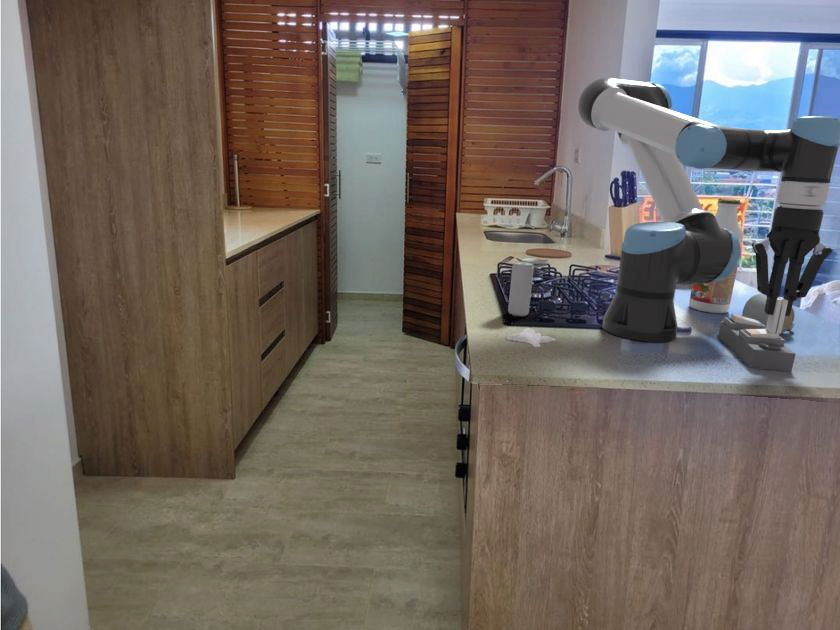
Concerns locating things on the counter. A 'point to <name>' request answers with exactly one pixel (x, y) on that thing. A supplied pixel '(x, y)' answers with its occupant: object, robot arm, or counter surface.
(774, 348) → the power strip
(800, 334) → the counter surface
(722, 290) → the fruit juice
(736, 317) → the rocker outlet
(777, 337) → the rocker outlet
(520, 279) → the beverage can
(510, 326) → the counter surface
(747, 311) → the ceramic mug
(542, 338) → the acanthus leaf ornament
